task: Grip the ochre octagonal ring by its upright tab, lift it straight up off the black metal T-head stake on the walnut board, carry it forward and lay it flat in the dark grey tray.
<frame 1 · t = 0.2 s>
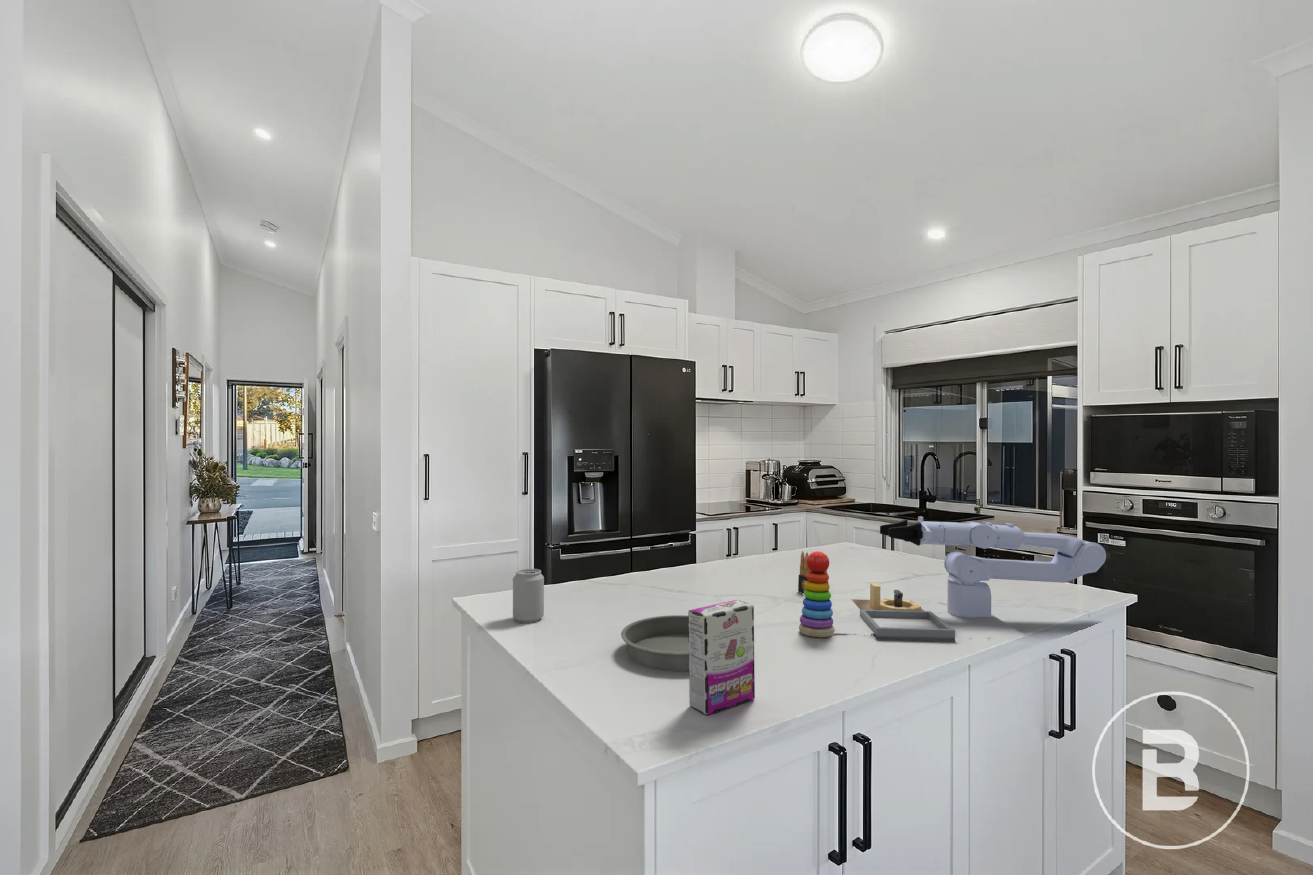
hand: (884, 531, 159), 21 cm above the counter, tool horizontal, fingers open, 7 cm apart
ring: (895, 596, 162), on the stake board, point 4 cm above the counter
ammunition clip: (813, 596, 178), on the counter
can: (528, 620, 155), on the counter
stake: (898, 600, 162), on the stake board, point 3 cm above the counter
stacking toy: (816, 633, 145), on the counter
candy bar box: (721, 703, 107), on the counter
cake pan: (679, 654, 132), on the counter
tray: (904, 630, 147), on the counter
stake board: (889, 610, 163), on the counter
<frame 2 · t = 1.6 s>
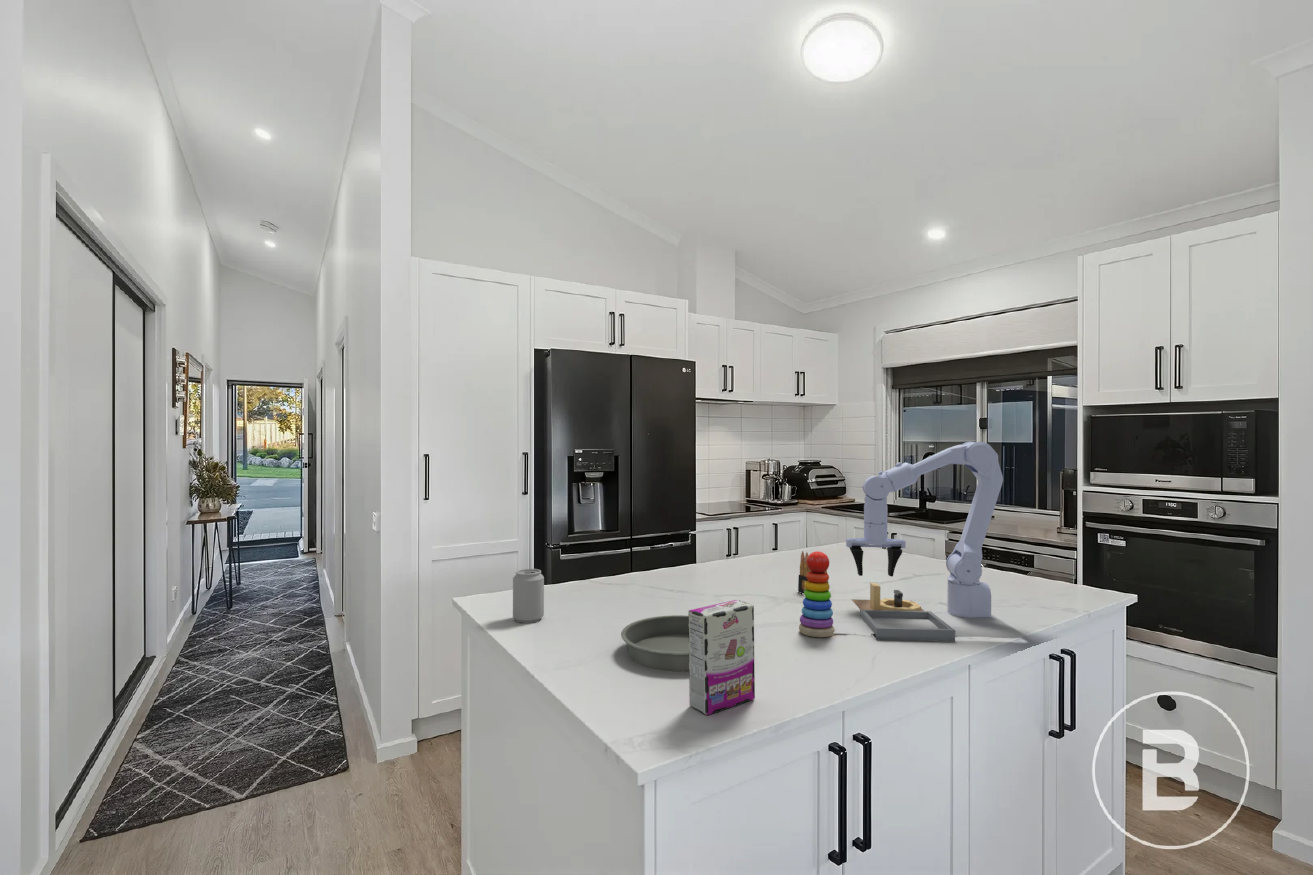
hand: (875, 575, 162), 9 cm above the counter, tool pointing down, fingers open, 7 cm apart
nothing on the counter moved.
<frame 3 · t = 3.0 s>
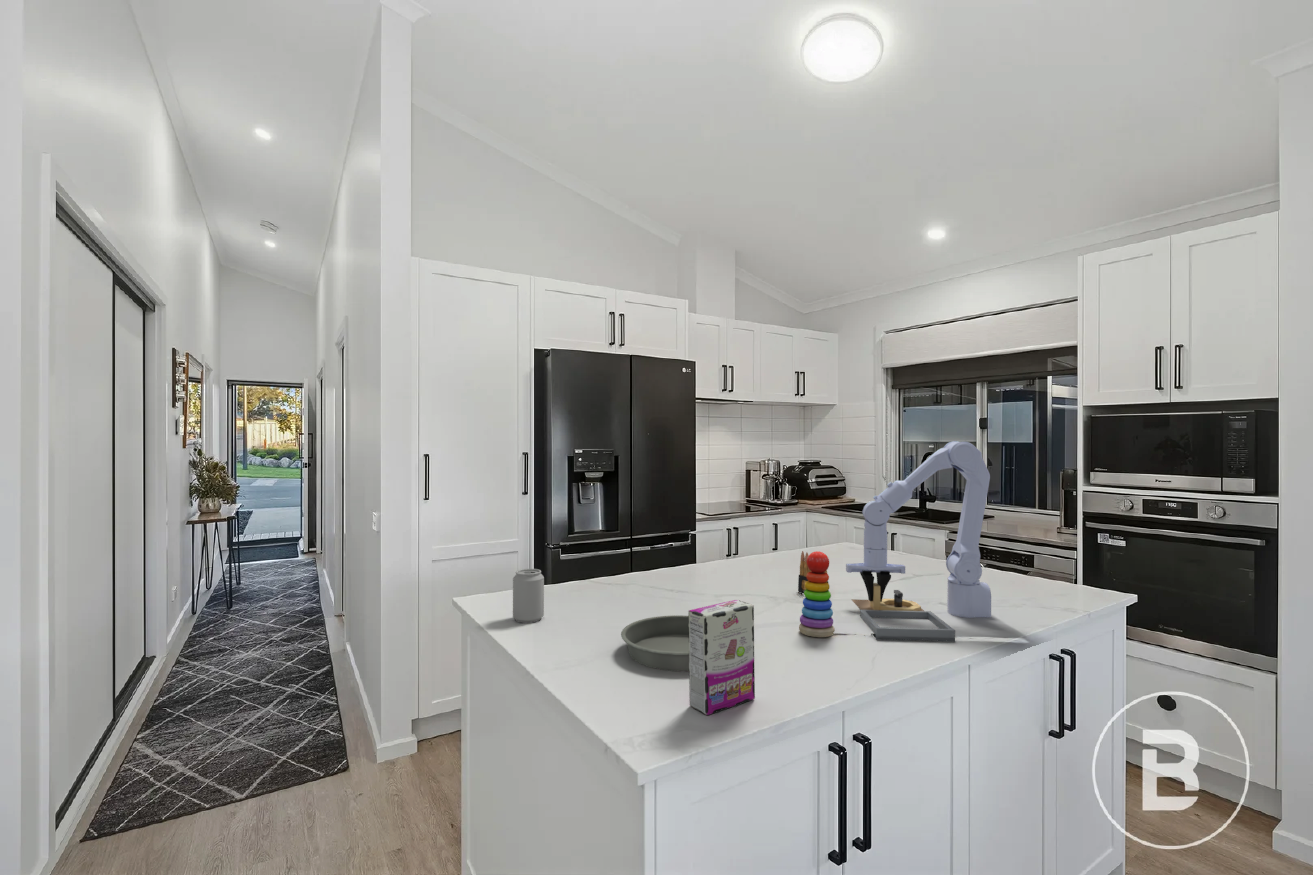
hand: (875, 600, 162), 3 cm above the counter, tool pointing down, fingers closed on ring
ring: (895, 596, 162), on the stake board, point 4 cm above the counter, touching gripper
everything else where it was.
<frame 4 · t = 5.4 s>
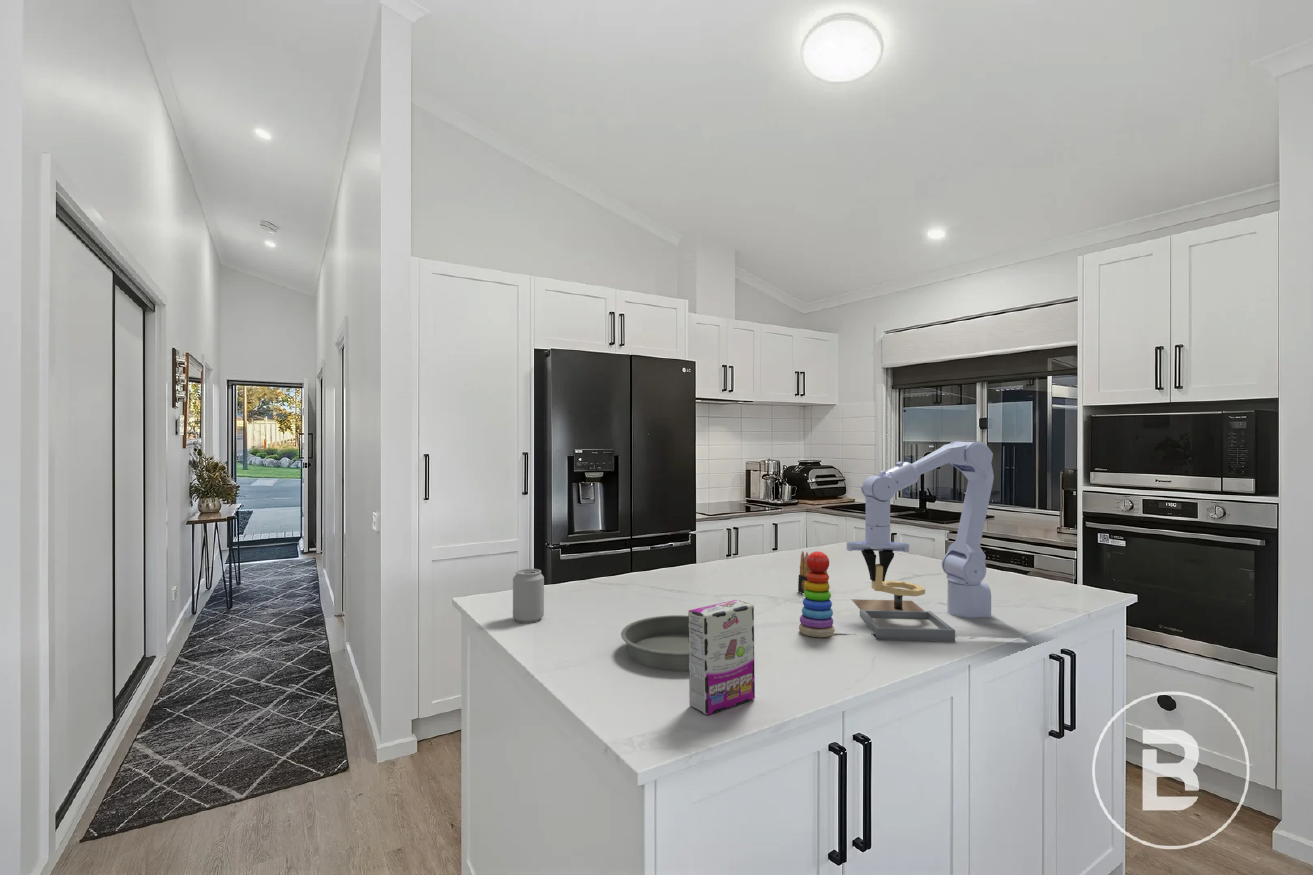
hand: (877, 580, 154), 10 cm above the counter, tool pointing down, fingers closed on ring
ring: (898, 578, 154), point 10 cm above the counter, touching gripper
everything else where it was.
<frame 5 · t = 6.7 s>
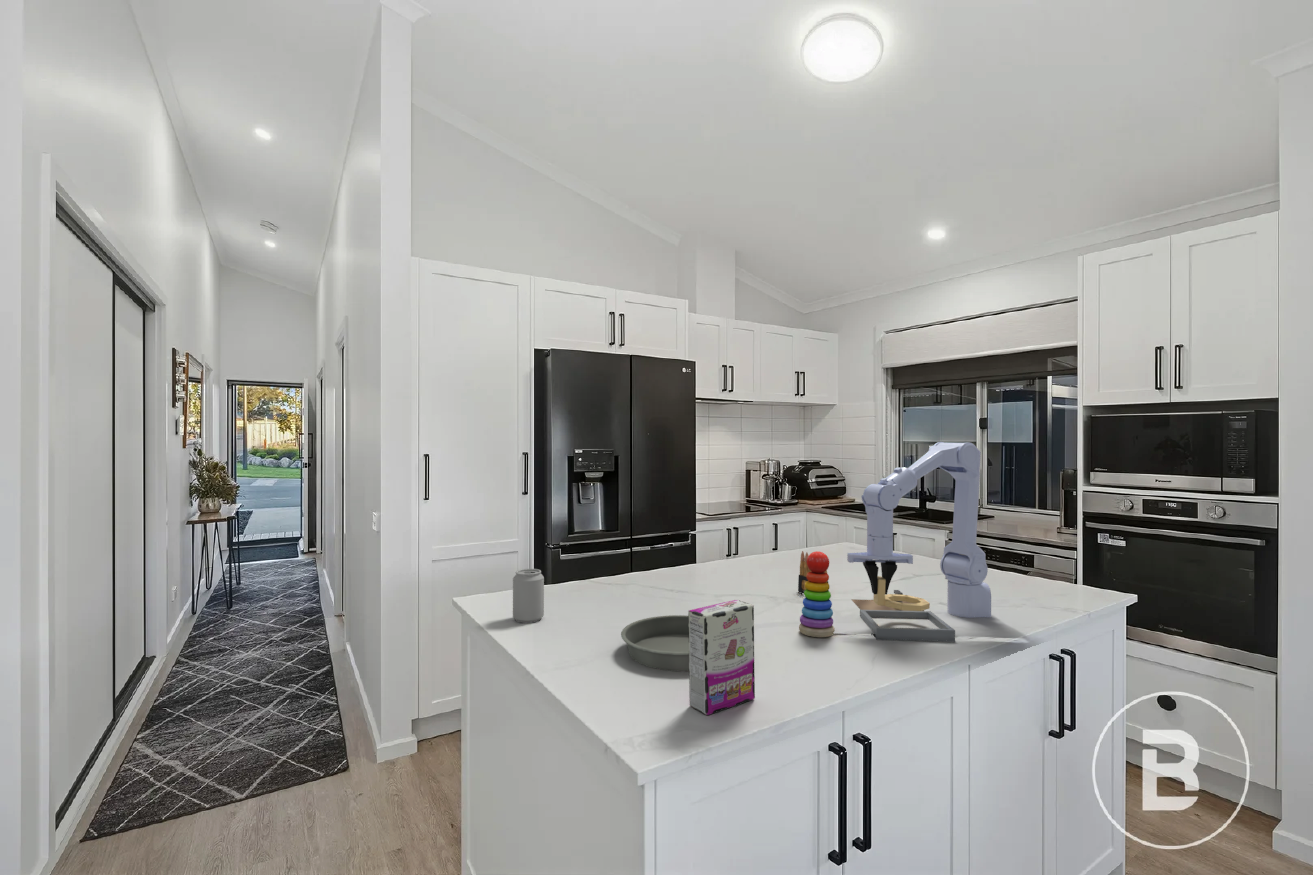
hand: (879, 593, 147), 8 cm above the counter, tool pointing down, fingers closed on ring
ring: (901, 591, 147), point 9 cm above the counter, touching gripper
everything else where it was.
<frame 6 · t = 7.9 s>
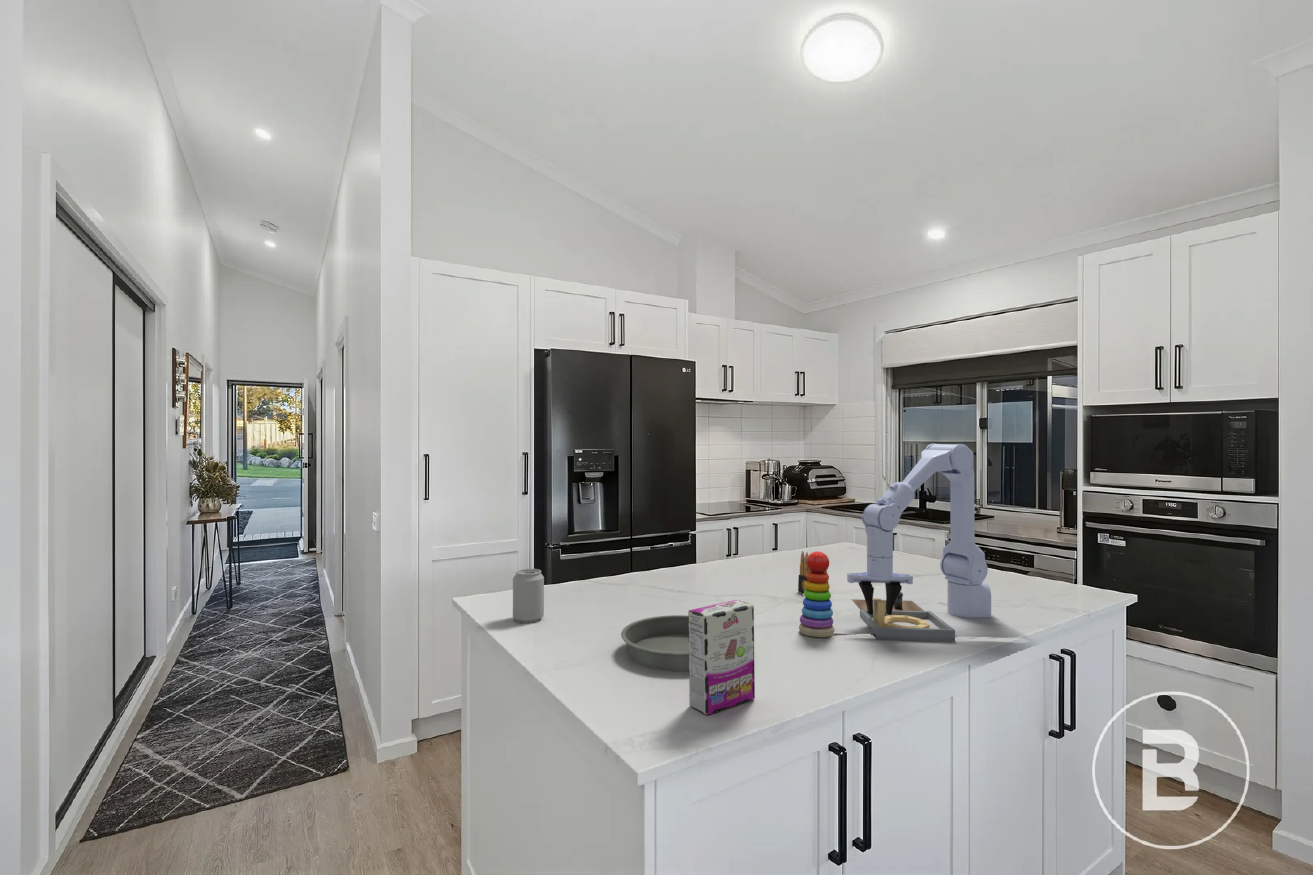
hand: (879, 613, 147), 4 cm above the counter, tool pointing down, fingers open, 4 cm apart
ring: (900, 613, 147), in the tray, point 4 cm above the counter
everything else where it was.
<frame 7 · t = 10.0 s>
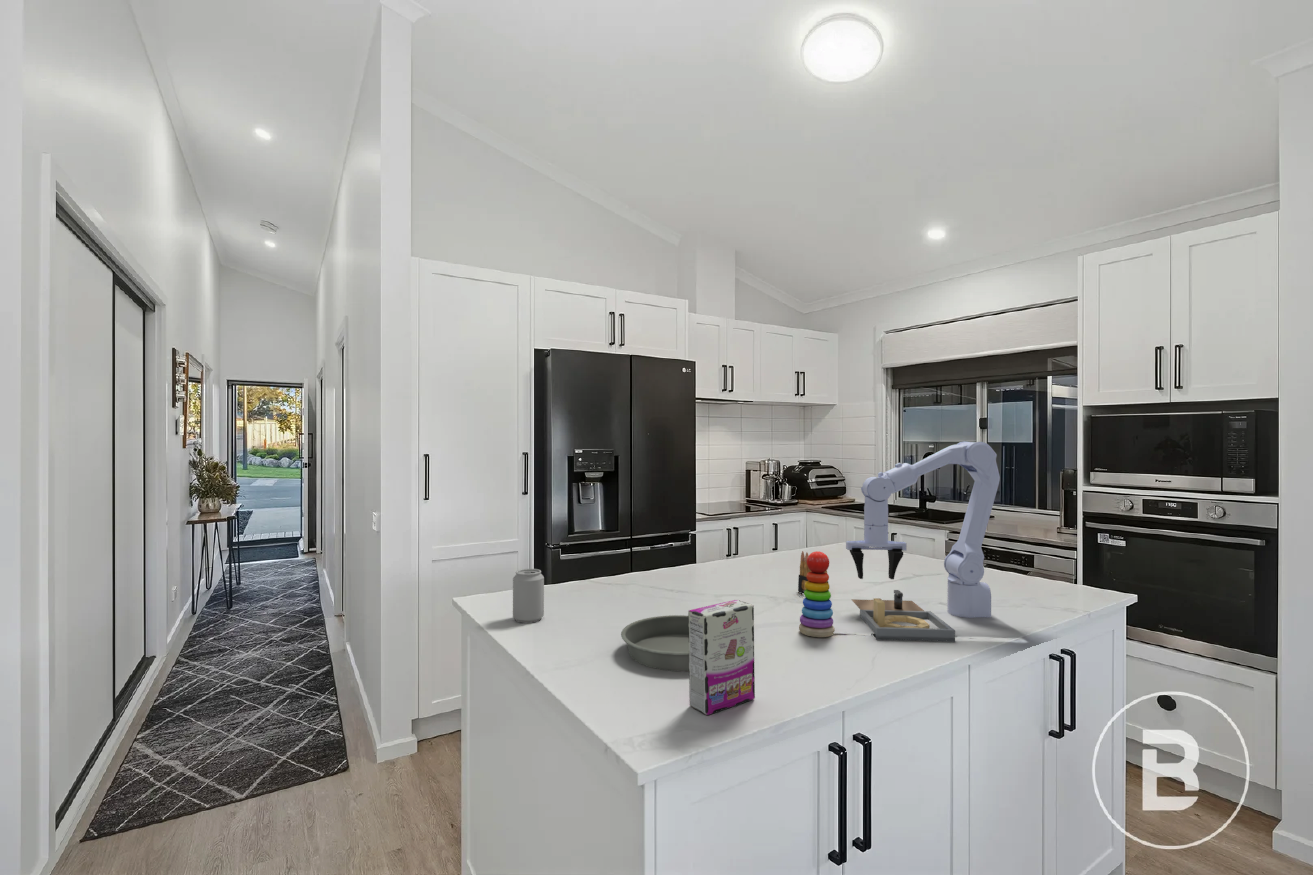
hand: (875, 578, 159), 9 cm above the counter, tool pointing down, fingers open, 7 cm apart
nothing on the counter moved.
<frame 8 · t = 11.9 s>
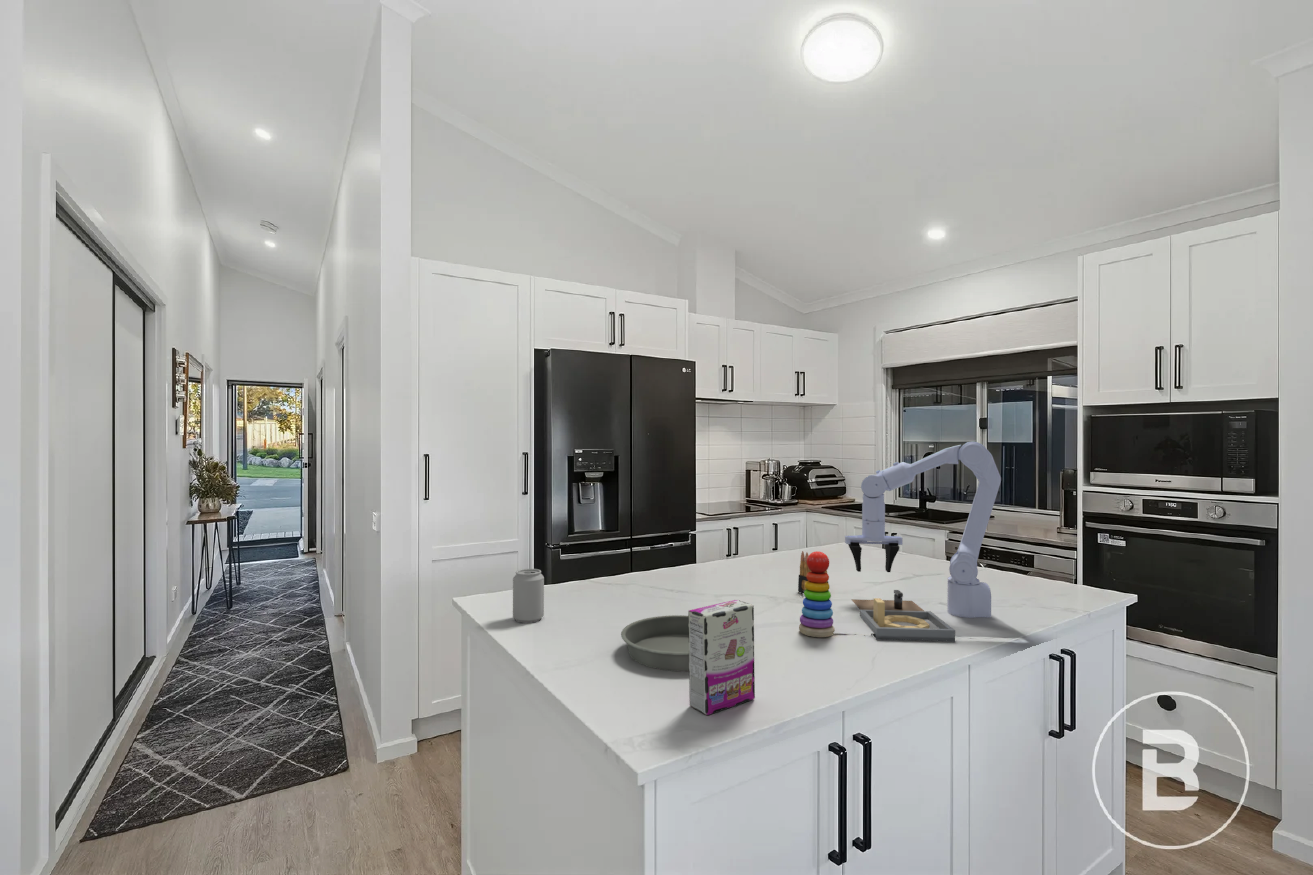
hand: (873, 571, 167), 9 cm above the counter, tool pointing down, fingers open, 7 cm apart
nothing on the counter moved.
at the end: ring 0.1 cm off-centre on the tray, point 3.8 cm above the tray's base; ring tilted 0°; the gripper is holding nothing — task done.
